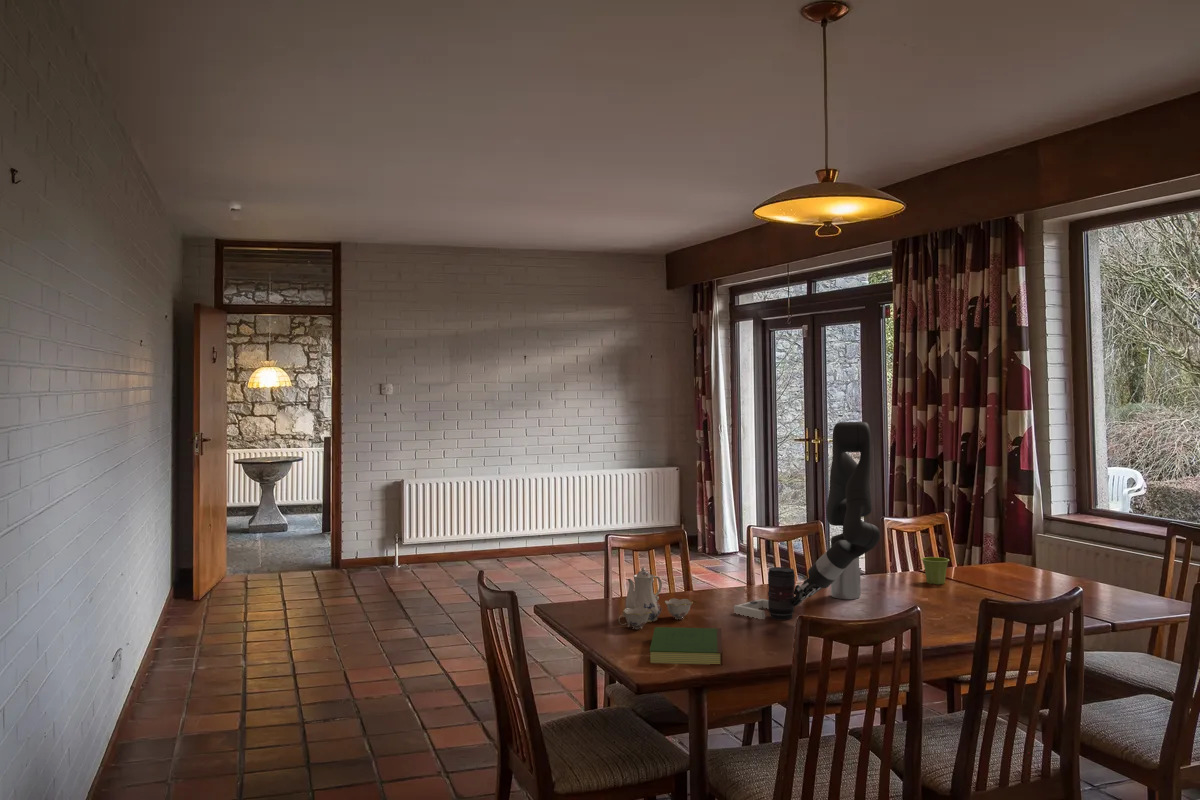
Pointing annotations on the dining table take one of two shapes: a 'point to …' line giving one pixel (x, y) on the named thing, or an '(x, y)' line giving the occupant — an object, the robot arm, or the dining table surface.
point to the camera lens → (781, 592)
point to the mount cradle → (752, 608)
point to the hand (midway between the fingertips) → (793, 603)
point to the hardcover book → (686, 645)
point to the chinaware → (649, 601)
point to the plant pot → (935, 569)
